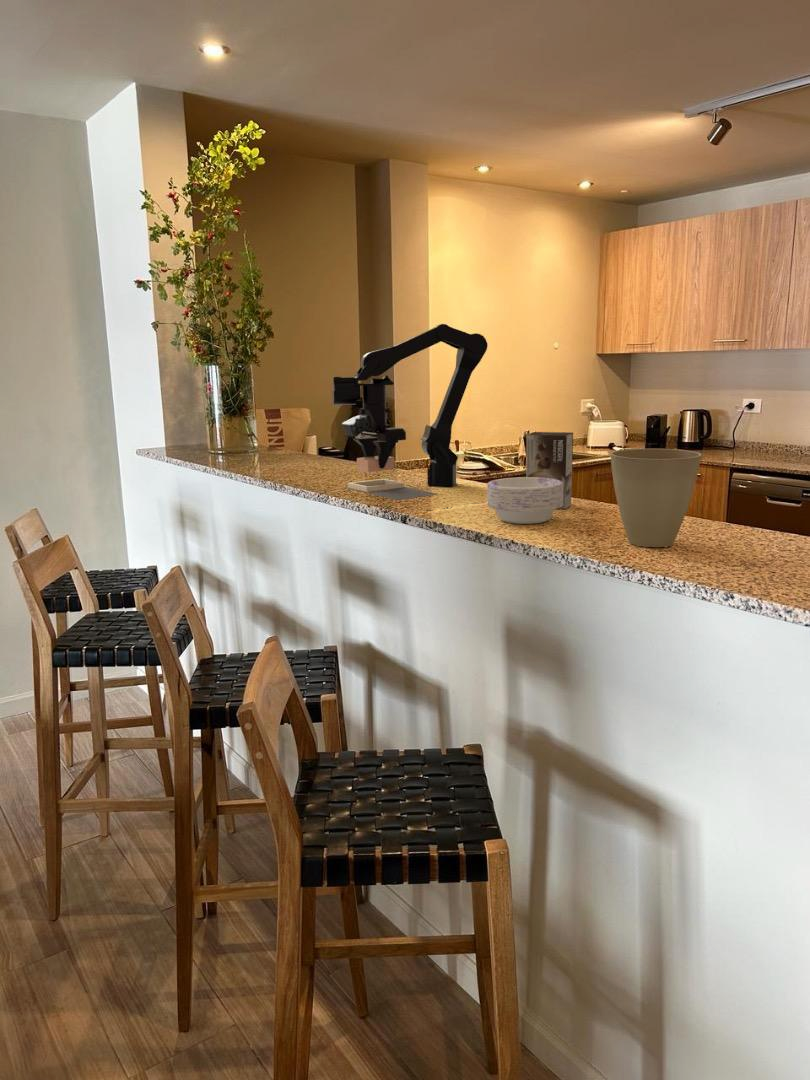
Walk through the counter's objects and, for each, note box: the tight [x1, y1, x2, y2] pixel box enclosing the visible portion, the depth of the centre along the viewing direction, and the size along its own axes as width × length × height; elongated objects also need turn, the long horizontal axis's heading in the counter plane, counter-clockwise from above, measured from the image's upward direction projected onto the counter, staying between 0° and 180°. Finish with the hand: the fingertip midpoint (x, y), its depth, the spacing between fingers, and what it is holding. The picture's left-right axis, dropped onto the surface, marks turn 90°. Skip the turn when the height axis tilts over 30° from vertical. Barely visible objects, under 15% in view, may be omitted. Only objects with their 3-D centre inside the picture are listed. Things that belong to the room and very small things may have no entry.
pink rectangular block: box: [356, 455, 396, 473], centre depth 195 cm, size 8×5×3 cm, turn 126°
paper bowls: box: [486, 476, 563, 525], centre depth 157 cm, size 15×15×8 cm
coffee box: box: [525, 431, 574, 510], centre depth 171 cm, size 9×6×16 cm
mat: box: [343, 478, 439, 501], centre depth 191 cm, size 24×12×2 cm, turn 36°
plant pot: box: [609, 448, 702, 548], centre depth 135 cm, size 15×15×16 cm
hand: (375, 467), depth 195 cm, fingers closed on pink rectangular block, 5 cm apart
